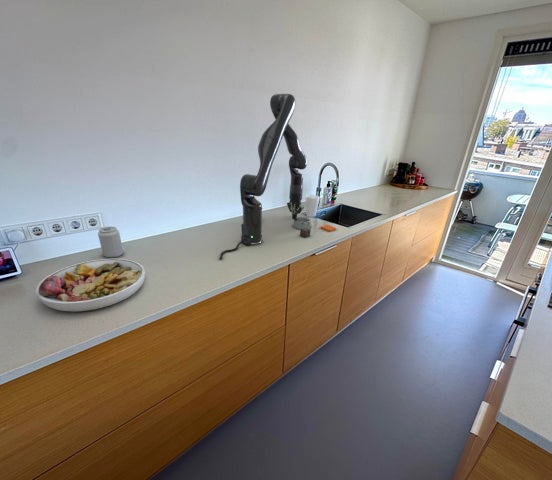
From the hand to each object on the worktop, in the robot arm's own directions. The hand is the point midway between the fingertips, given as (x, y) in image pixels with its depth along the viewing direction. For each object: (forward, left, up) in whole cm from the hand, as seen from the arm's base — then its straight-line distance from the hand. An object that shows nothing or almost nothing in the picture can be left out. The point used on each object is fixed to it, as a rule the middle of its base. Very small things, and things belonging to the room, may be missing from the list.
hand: (294, 219), depth 176 cm
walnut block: (-10, -19, -3) cm, 21 cm away
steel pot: (0, -7, -3) cm, 7 cm away
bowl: (-107, -14, -3) cm, 108 cm away
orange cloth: (+10, -19, -3) cm, 22 cm away
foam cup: (+22, +6, -3) cm, 23 cm away
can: (-95, +13, -3) cm, 96 cm away
